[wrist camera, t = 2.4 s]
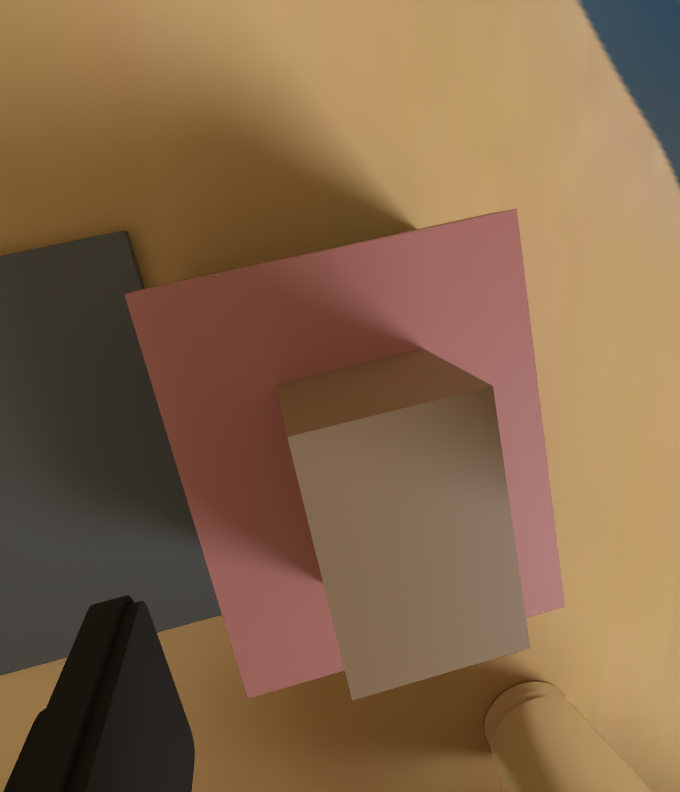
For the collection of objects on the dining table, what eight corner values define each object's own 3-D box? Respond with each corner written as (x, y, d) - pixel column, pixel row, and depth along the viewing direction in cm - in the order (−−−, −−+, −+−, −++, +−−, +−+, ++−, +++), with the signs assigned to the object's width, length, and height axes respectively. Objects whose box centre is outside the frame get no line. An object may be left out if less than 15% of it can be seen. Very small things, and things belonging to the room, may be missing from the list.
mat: (126, 231, 21) (124, 230, 21) (236, 603, 25) (236, 610, 25) (-210, 301, 20) (-221, 302, 20) (-37, 678, 24) (-43, 687, 24)
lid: (497, 212, 16) (626, 190, 10) (545, 585, 19) (664, 718, 14) (133, 291, 15) (68, 312, 10) (247, 670, 18) (247, 849, 13)
